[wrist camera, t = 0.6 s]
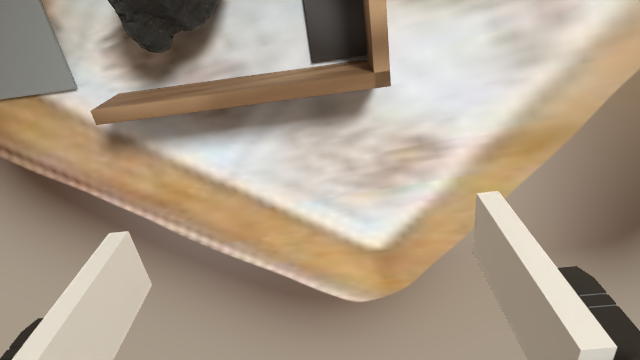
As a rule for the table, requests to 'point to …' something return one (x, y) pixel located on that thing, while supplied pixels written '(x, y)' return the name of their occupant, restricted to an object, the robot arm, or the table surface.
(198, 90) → the open wooden frame
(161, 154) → the table surface
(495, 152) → the table surface
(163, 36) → the rock
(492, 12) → the table surface
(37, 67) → the mat
